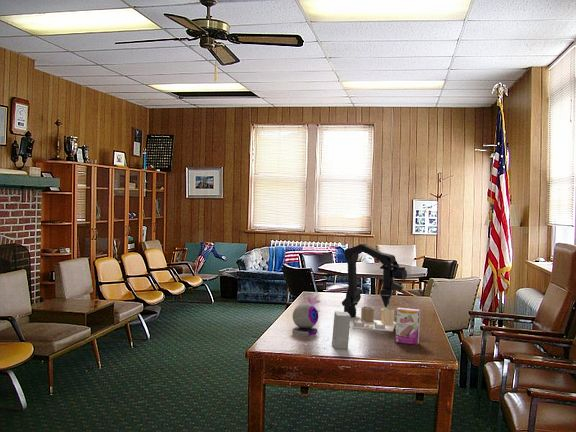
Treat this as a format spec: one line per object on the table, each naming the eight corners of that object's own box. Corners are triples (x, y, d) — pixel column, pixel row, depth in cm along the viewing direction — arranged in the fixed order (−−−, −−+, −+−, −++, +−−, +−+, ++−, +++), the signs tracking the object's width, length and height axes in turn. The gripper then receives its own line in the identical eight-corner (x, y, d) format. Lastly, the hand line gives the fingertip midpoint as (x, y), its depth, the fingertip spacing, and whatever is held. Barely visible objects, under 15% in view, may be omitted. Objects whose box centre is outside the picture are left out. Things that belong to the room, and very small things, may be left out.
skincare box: (331, 344, 278) (332, 310, 277) (346, 344, 278) (347, 311, 278) (334, 349, 269) (335, 314, 269) (349, 349, 270) (351, 314, 269)
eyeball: (309, 337, 291) (310, 306, 290) (287, 333, 298) (288, 303, 297) (322, 332, 302) (322, 303, 301) (300, 328, 309) (301, 300, 308)
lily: (323, 311, 360) (319, 296, 364) (320, 307, 349) (317, 292, 353) (304, 316, 361) (301, 302, 365) (301, 312, 350) (297, 297, 354)
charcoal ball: (363, 315, 328) (363, 310, 326) (364, 310, 332) (364, 305, 329) (370, 316, 327) (370, 311, 325) (371, 311, 331) (371, 306, 328)
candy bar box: (394, 342, 284) (395, 309, 284) (396, 340, 289) (397, 307, 288) (418, 345, 281) (419, 311, 280) (419, 343, 285) (420, 309, 285)
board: (352, 328, 313) (353, 313, 313) (358, 319, 334) (359, 305, 334) (392, 331, 308) (393, 316, 308) (396, 323, 329) (396, 308, 329)
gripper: (401, 281, 316) (400, 310, 317) (404, 276, 334) (402, 303, 335) (380, 279, 319) (379, 308, 319) (384, 275, 337) (383, 302, 337)
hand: (386, 305), depth 328 cm, fingers open, 9 cm apart
